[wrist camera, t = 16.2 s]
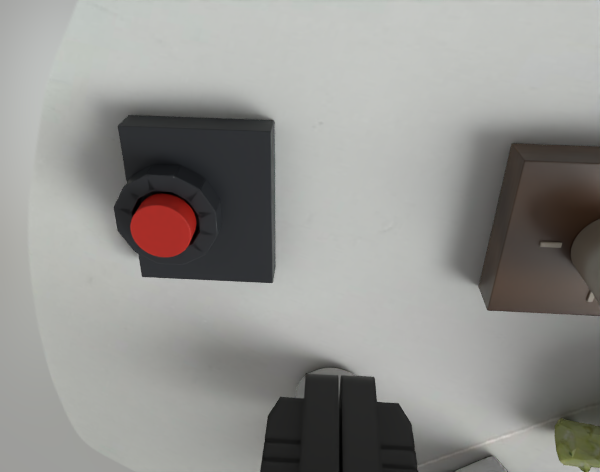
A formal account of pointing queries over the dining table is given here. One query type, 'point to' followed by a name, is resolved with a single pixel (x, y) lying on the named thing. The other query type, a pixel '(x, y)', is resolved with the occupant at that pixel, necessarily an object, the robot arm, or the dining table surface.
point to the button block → (204, 193)
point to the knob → (588, 256)
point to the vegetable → (578, 444)
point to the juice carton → (484, 466)
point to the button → (163, 225)
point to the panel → (542, 231)
